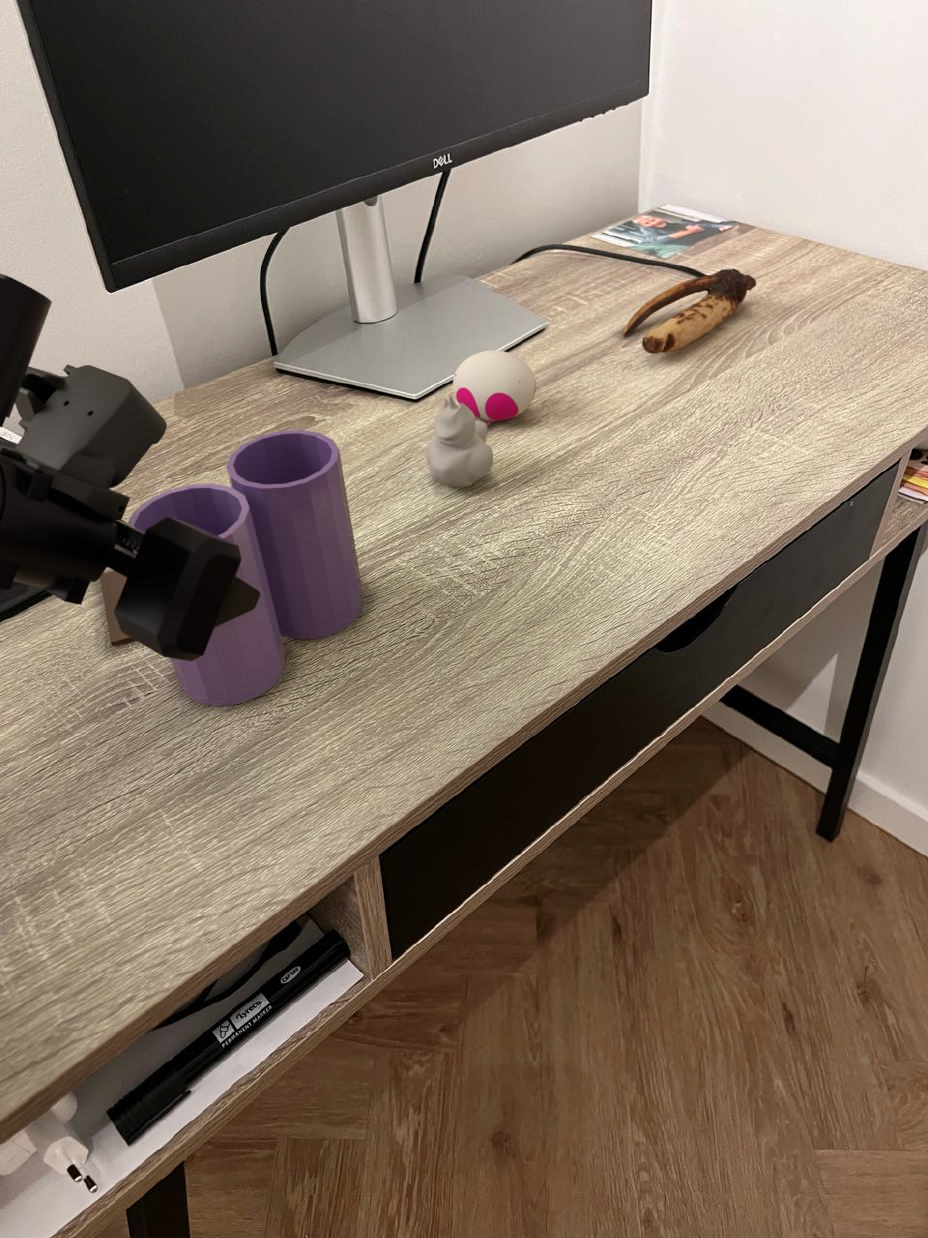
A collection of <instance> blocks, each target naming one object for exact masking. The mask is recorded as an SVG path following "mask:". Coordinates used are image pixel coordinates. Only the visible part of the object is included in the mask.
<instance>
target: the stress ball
mask: <svg viewBox="0 0 928 1238" xmlns="http://www.w3.org/2000/svg"><path fill="white" fill-rule="evenodd" d="M452 375H453V379H452V390H453V394H454V397H455V400H456V402H457V403H458V405H460V404H461V403H463V404H464V405H465V406H466V407H468V408H469V409H470V410H471V411H472V412H473V414H474V415H475V418H478V419H480V420H484V421H486V422H484V423H485V424H486V425H487V426H488V425H489V424H490V423H491V421H492V422H493V421H495V422H496V421H506V420H509V419H510V420H511V419H513V418H514V417H517V416H519V415H520V414H522V413H523V412H524V411H526V410H527V408H528V407H530V405H531V404H532V402H533V400H534V398H535V396H536V392H537V391H536V390H537V383H536V377H535V374H534V372H533V370H532V369H531V367H530V366H529V364H527V362H525V361H524V360H523V359H522V358H520V357H519V356H517V355H515V354H513V353H510V352H508V351H502V350H485V351H480V352H477V353H475V354H472V355H470V356H469V357H467V358H466V359H465V360H464V361H463V362H461V363H460V365H459V366H458V367H457V369H456V371H455V373H454V372H452Z"/></svg>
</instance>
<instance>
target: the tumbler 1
mask: <svg viewBox="0 0 928 1238" xmlns="http://www.w3.org/2000/svg"><path fill="white" fill-rule="evenodd" d="M167 516H169V517H172V518H175V519H178V520H181V521H184V522H186V523H189V524H191V525H194V526H196V527H199V528H201V529H204V530H206V531H208V532H210V533H212V534H215V535H217V536H219V537H221V538H223V539H225V540H227V541H229V542H232V543H234V544H236V545H238V546H239V550H240V554H241V559H242V561H241V563H240V566H239V568H238V571H237V573H236V577H238V578H240V579H241V580H243V581H244V582H246V583H247V584H249V585H250V586H252V587H254V588H255V589H257V590H258V591H260V597H259V600H258V602H257V605H256V607H255V609H253V610H252V611H249V612H247V613H245V614H243V615H241V616H239V617H236V618H234V619H232V620H230V621H228V622H226V623H223V624H221V625H219V626H217V627H215V628H214V630H213V633H212V635H211V638H210V640H209V643H208V645H207V648H206V650H205V653H204V655H203V656H201V657H199V658H197V659H196V660H194V661H186V660H179V659H173V658H170V660H171V663H172V667H173V669H174V672H175V675H176V678H177V681H178V684H179V685H180V688H181V689H182V691H183V693H184V694H185V695H186V696H187V697H189V698H190V699H191V700H192V701H195V702H197V703H200V704H201V705H206V706H212V707H228V706H234V705H238V704H239V705H240V704H243V703H247V702H249V701H251V700H253V699H256V698H258V697H259V696H261V695H263V694H264V693H266V692H268V691H269V690H270V689H271V688H273V687H274V686H275V685H276V684H277V682H278V681H279V680H280V678H281V677H282V675H283V673H284V671H285V669H286V663H287V661H286V659H287V658H286V651H285V647H284V644H283V638H282V635H281V634H280V630H279V626H278V622H277V618H276V613H275V609H274V605H273V601H272V597H271V593H270V589H269V585H268V581H267V577H266V572H265V568H264V564H263V560H262V556H261V552H260V548H259V544H258V540H257V536H256V531H255V527H254V523H253V519H252V515H251V511H250V507H249V505H248V502H247V500H246V497H245V496H244V495H243V494H241V493H240V492H238V491H237V490H235V489H233V488H231V486H227V485H221V484H217V483H195V484H187V485H183V486H180V487H175V488H171V489H168V490H165V491H163V492H161V493H158V494H157V495H155V496H152V497H151V498H149V499H147V500H146V501H144V502H143V503H142V504H141V505H139V506H138V507H136V508H135V510H134V511H133V512H132V513H131V515H130V517H129V520H128V521H127V522H126V523H127V524H128V525H130V526H132V527H134V528H136V529H138V530H140V531H142V532H144V533H145V532H146V529H147V528H149V527H151V526H152V525H154V524H155V523H157V522H159V521H160V520H162V519H164V518H165V517H167ZM133 551H134V554H137V552H136V551H135V550H133Z"/></svg>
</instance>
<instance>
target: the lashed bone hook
mask: <svg viewBox="0 0 928 1238" xmlns="http://www.w3.org/2000/svg"><path fill="white" fill-rule="evenodd" d="M756 286H757V280H756V279H755V278H754V277H753V276H751V275H750V274H744V273H742V272H741V271H739V270H738V269H736V268H724V269H720V270H718V271H717V272H715V273H712V274H709V275H708V274H705V275H704V276H700V277H694V278H691V279H689V280H686V281H683V282H680V283H678V284H675V285H674V286H672V287H670V288H668V289H665V290H664V291H662V292H661V293H659V294H657V295H655V296H654V297H652V298H651V299H649V300H648V301H647V302H646V303H644V304H643V305H642V306H641V307H639V309H637V311H636V312H635V313H634V314H633V315H632V316H631V317H630V319H629V320H628V322H627V323H626V325H625V327H624V329H623V332H622V336H623V337H627V336H628V335H630V334H632V333H633V332H634V331H635V330H636V329H637V328H639V326H641V325H642V324H643V323H644V322H645V321H646V320H647V319H648V318H649V317H651V316H652V315H653V314H655V313H656V312H658V311H660V310H661V309H663V308H665V307H667V306H669V305H671V304H673V303H675V302H676V301H677V302H678V301H679V300H681V299H683V298H686V297H688V296H691V295H694V294H697V293H699V294H700V293H702V292H707V294H706V295H705V296H703V297H702V298H701V299H700V300H698V301H697V302H695V303H693V304H691V305H690V306H688V307H687V308H684V309H682V310H681V311H680V312H678V313H676V314H675V315H674V316H672V317H671V318H669V319H668V320H666V321H665V322H664V323H662V324H661V325H658V326H655V327H654V328H653V329H651V330H650V331H648V332H647V333H646V335H645V336H643V337H642V342H641V347H642V349H643V350H644V351H645V352H646V353H648V354H651V355H655V354H660V353H664V354H666V353H667V354H668V353H673V352H675V351H678V350H680V349H682V348H683V347H685V346H687V345H689V344H691V343H693V342H694V341H695V340H697V339H699V338H701V337H702V336H704V335H705V334H707V333H708V332H711V331H712V330H713V329H715V328H716V327H718V326H719V325H720V324H721V323H722V322H724V321H725V320H726V319H727V318H729V317H730V316H731V315H733V314H734V313H735V311H736V310H737V309H738V308H739V305H740V304H741V303H743V302H744V301H745V299H746V296H747V294H748V291H749V292H750V291H752V290H753V289H754V288H755V287H756Z"/></svg>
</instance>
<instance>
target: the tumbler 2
mask: <svg viewBox="0 0 928 1238" xmlns="http://www.w3.org/2000/svg"><path fill="white" fill-rule="evenodd" d="M225 468H226V471H227V477H228V480H229V484H230V487H231V488H233V489H235V490H237V491H238V492H240V493H241V494H243V495H244V496H245V497H246V500H247V502H248V505H249V507H250V511H251V515H252V519H253V523H254V527H255V531H256V536H257V540H258V544H259V548H260V552H261V556H262V560H263V564H264V568H265V572H266V577H267V581H268V585H269V589H270V593H271V597H272V601H273V605H274V609H275V613H276V618H277V622H278V626H279V630H280V634H281V636H283V637H286V638H288V639H289V638H290V639H293V640H295V639H296V640H314V639H315V640H316V639H321V638H325V637H329V636H331V635H334V634H337V633H338V632H341V631H342V630H344V629H346V628H347V627H349V626H350V625H352V623H354V621H355V620H356V619H357V618H358V617H359V616H360V614H361V612H362V611H363V606H364V596H363V594H364V591H363V590H364V589H363V584H362V579H361V573H360V568H359V560H358V554H357V549H356V543H355V536H354V529H353V524H352V519H351V512H350V507H349V500H348V495H347V489H346V483H345V477H344V470H343V465H342V458H341V452H340V449H339V447H338V445H337V444H336V442H335V440H334V439H332V438H330V437H329V436H326V435H325V434H323V433H321V432H318V431H317V432H316V431H310V430H305V429H293V430H279V431H275V432H271V433H266V434H263V435H259V436H257V437H254V438H253V439H250V440H248V441H246V442H244V443H242V444H241V445H240V446H239V447H238V448H236V449H235V450H234V451H233V452H232V453H231V454H230V455H229V457H228V460H227V463H226V466H225Z"/></svg>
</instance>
